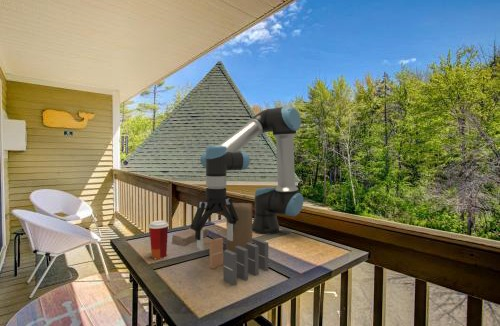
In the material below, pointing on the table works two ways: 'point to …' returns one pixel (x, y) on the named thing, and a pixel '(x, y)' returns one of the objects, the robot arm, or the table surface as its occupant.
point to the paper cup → (158, 238)
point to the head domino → (216, 252)
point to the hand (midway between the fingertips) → (215, 244)
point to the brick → (186, 237)
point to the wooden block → (241, 226)
